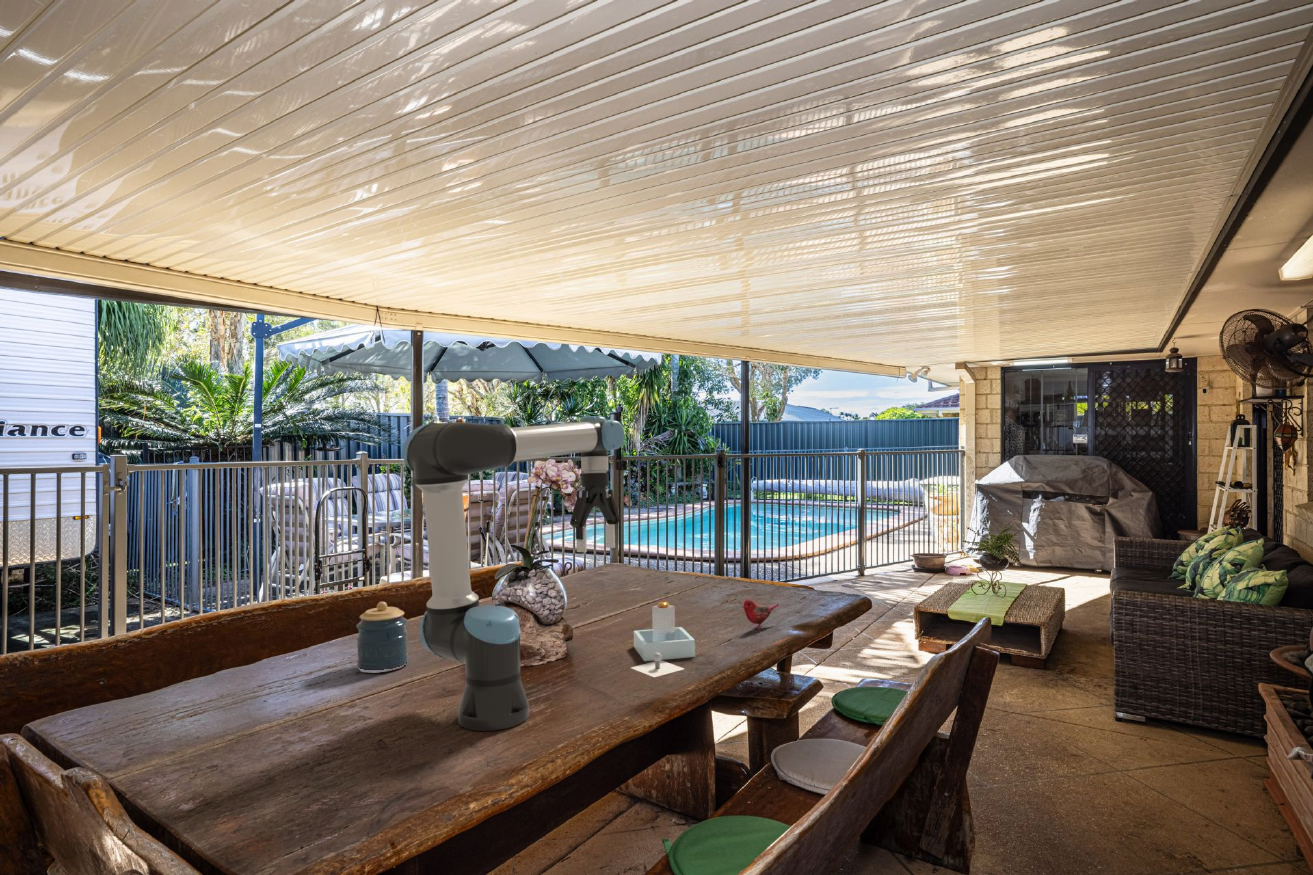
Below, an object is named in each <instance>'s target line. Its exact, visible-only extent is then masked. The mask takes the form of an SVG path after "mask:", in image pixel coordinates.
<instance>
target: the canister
mask: <svg viewBox="0 0 1313 875" xmlns="http://www.w3.org/2000/svg"><path fill="white" fill-rule="evenodd" d="M404 615H405V611H404V610H401V609H400V608H399V607H395V606H388V604H387V602H385V601H379V602H378V603H377V605H376V607H375V608H370V609H367V610H366V611H364V613H362V614H361V615H359V619H360V621H359V622H358V623H357V624H356V626H355V627H356V629H357V630H358V635H357V637H356V641H357V644H356V645H357V646H356V648H357V660H356V662H357V664H356V666H357V668H358V667H359V668H360V669H364V670H384V669H393V668H396V667H400V666H402V665H404V664H406V662H407V663H408V660H409V653H408V635H409V634H408V631H407V629H406V628H407V626H406V625H407V624H408V622H409V621H408V619H407V618H405V617H404Z"/></svg>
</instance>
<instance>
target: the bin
mask: <svg viewBox="0 0 1313 875" xmlns="http://www.w3.org/2000/svg"><path fill="white" fill-rule="evenodd" d="M633 647H634V649H635V651H636V652H637V653H638V655H639V656H640V657H641V659H642V661H644V662H650V661H652V662H654V661H655V660H654V659H653V655H654V654H655V653H660V654H661V656H662V658H661V660H662V661H665V660H673V659H674V660H675V659H686V658H695V657H696V640H695V638H694V637H693V636H691V635H690V633H689V632H688V631H686V630H685V629H684V628H683V627H682V626H680V627H679V626H677V627H676V626H675V640H674V641H662V642H653V628H651V629H639V630H633Z"/></svg>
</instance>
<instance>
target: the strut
mask: <svg viewBox="0 0 1313 875" xmlns="http://www.w3.org/2000/svg"><path fill="white" fill-rule="evenodd" d="M675 609H676V607H675V605H671V604H670V603H669V601H660V602H657V605H654V606H652V608H651V616H652V619H651V620H652V629H653V642H662V641H674V640H675V628H676V617H675V616H676V615H675V614H676V612H675Z"/></svg>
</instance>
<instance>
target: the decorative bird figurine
mask: <svg viewBox="0 0 1313 875" xmlns="http://www.w3.org/2000/svg"><path fill="white" fill-rule="evenodd" d="M778 606H779V603H776V604H774V605H772V606H769V607H768V606H765V605H761V604H756V602H754V600H751V599H745V600H744V602H743V606H742V609H743V610H744V612H745V616H746V618H747V620H748V621H749V622H750V623H752V624H754V625H757V626H755V627H754V628H752V630H758V629H760V628H761V627H762V628H763V625H762V623H765V621H766V620H767V619H768V618H769V617H770V614H771V613H772V611H773V610H774V609H775V608H777V607H778Z"/></svg>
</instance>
